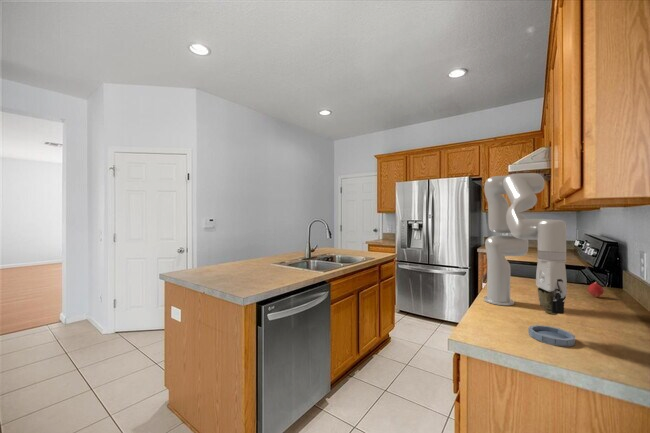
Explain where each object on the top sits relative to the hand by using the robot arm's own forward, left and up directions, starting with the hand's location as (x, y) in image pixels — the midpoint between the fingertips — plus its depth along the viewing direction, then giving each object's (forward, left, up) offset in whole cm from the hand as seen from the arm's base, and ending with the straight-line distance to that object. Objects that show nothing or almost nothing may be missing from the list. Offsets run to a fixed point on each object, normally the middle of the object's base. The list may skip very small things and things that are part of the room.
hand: (551, 309), depth 95 cm
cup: (0, 0, -2) cm, 2 cm away
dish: (0, 0, -10) cm, 10 cm away
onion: (-63, +48, -10) cm, 80 cm away
